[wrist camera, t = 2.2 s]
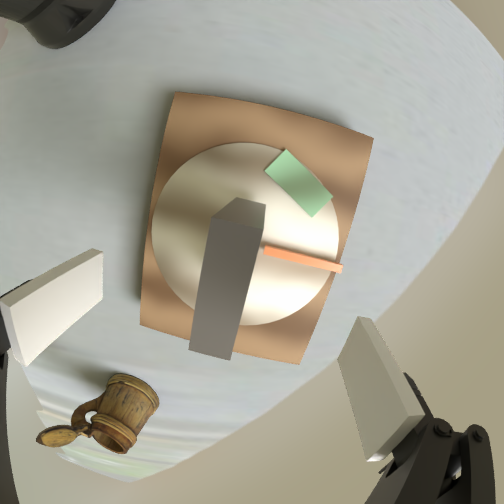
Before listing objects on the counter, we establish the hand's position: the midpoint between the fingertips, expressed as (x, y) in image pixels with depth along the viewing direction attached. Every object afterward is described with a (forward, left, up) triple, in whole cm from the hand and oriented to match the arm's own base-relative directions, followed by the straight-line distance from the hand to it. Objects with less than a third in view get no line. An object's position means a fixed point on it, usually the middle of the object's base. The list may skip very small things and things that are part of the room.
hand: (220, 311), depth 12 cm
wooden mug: (+30, -14, -16) cm, 37 cm away
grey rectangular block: (0, +4, -12) cm, 12 cm away
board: (0, 0, -16) cm, 16 cm away
